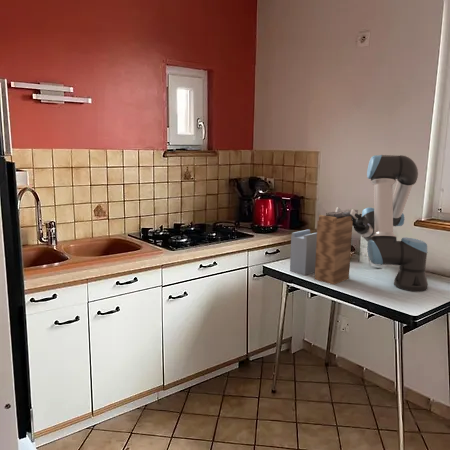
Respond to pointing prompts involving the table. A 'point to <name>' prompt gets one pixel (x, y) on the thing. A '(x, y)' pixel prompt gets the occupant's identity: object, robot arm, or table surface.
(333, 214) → the grey bar
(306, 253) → the block
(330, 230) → the stand
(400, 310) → the table surface
